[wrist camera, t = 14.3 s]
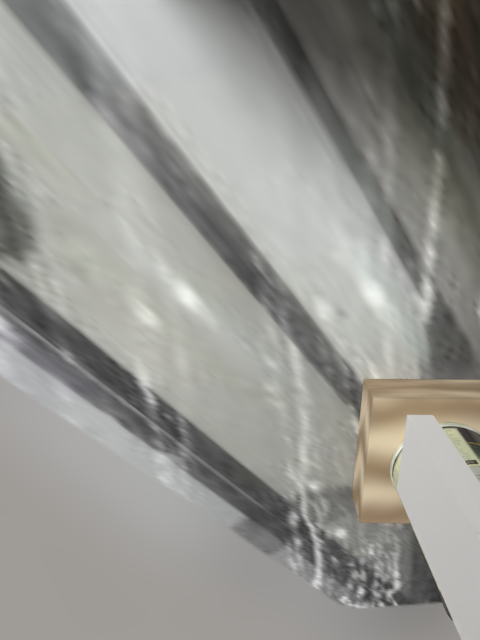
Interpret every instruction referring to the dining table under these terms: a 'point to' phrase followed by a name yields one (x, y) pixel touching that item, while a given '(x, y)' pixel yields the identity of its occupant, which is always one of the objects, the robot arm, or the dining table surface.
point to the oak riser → (401, 434)
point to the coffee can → (469, 443)
